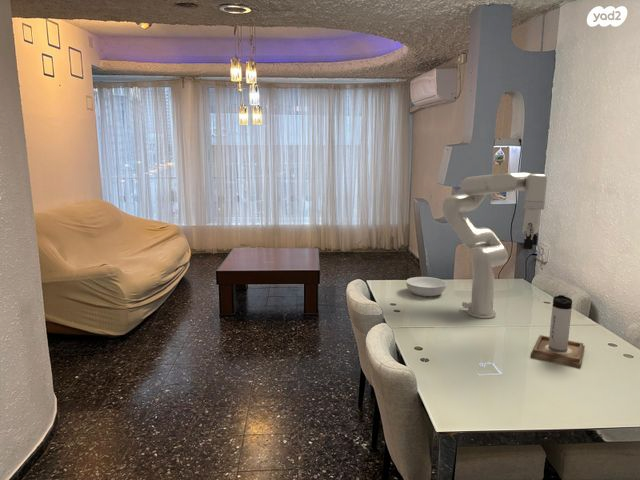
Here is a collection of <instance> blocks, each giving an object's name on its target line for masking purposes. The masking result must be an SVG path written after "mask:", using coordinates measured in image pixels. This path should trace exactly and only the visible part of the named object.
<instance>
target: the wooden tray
mask: <svg viewBox="0 0 640 480" xmlns="http://www.w3.org/2000/svg"><path fill="white" fill-rule="evenodd" d="M567 347H568V348H567V351H566V352H556V351H553V350H551V349H549V336H546V335H542V334H541V335H540V334H539V336H538V338H537V340H536V341H535V344H534V347H532V351H531V353H530V358H533V359H538V360H541V361H546V362H551V363H555V364H561V365H564V366H571V367H573V368H574V367H575V368H579V369H580V368H581V367H582V362H583V357H584V353H585V348H586V346H585V345H584V343H583V342H579V341H573V340H569V339H568V346H567Z"/></svg>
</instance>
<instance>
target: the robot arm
mask: <svg viewBox="0 0 640 480" xmlns="http://www.w3.org/2000/svg"><path fill="white" fill-rule="evenodd" d="M547 179H548V176H547V175H546V174H543V173H530V172H525V171H523V172H522V171H521V172H506V173H499V174H498V173H497V174H483V175H477V176H476V175H475V176H468V177H466V178H464V179H463V180H462V181H461V183H460V190H461V192H462V193H463V194H452V195H449V196H447V197H446V198H445V199H444V200H443V202H442V205H441V206H442V214H443V217H444V218H445V220H446V222H447V223H448V224H449V225H450V227H451V228H452V229H453V230H454V232H455V233H456V235H457V236H458V238H459V239H460V241H461V243H462V245H463V246H464V247H466V249H468V250H473V252H472V253H471V256H470V260H471V262H470V263H471V266H472V269H471V270H472V282H471V299H470V300H471V301H470V302H464V301H462V303H461V305H462V307H463V308H464V309H465V308H467V314H468V315H469V316H470V317H473V318H478V319H492V318H495V317H496V315H497V312H496V311H495V310H494V294H495V274H494V271H493V267H498V266H503V265H505V264H506V263H507V262H508V260H509V253H508V251H507V249H506V247H505V245H503V243H502V242H501V240H500V239H499V237H498V236H497V235H496V234H495V232H494V231H493V230H492V229H490V228H488V227H485V226H484V227H476V226H475V225H474V224H473V223H472V221H471V220H470V218H468V217H467V216H466V215H465V214H463V213H465V212H472V211H475V210H476V209H477V208H478V207H479V206H480V204H481V203H482V202H483V201H484V199H485V198H486V197H487V196H488V195H493V194H495V193H510V192H511V193H512V192H523V191H524V199H523V209H524V210H525V211H524V217H523V225H522V233H523V234H525V235H524V240H523V250H530V251H531V250H533V247H534V246H537V244H538V232H539V231H540V225H541V213H542V211H543V210H545V204H546V203H545V202H546V191H547V182H548V180H547Z"/></svg>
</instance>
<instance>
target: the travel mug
mask: <svg viewBox="0 0 640 480" xmlns="http://www.w3.org/2000/svg"><path fill="white" fill-rule="evenodd" d="M572 305H573V300H572V299H571V298H570V297H568V296H566V295H562V294H559V295H555V296H554V297H553V299H552V307H551V308H552V309H551V317H550V327H549V336H548V337H549V349H551V350H553V351H556V352H566V351H567V348H568V347H567V346H568V340H569V338H570V337H569V336H570V328H571V327H570V325H571V317H572V310H573V309H572V307H573V306H572Z"/></svg>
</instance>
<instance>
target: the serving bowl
mask: <svg viewBox="0 0 640 480" xmlns="http://www.w3.org/2000/svg"><path fill="white" fill-rule="evenodd" d="M405 282H406V287H407V290H408V291H410V292H411V293H412V294H414V295H417V296H420V295H421V296H420V297H426V296H429V297H436V296H439V295H441V294H442V293H443V292H445V290H446V288H447V285H448V284H447V281H445V280H443V279H440V278H438V277H432V276H431V277H430V276H415V277H409V278H407V280H405Z"/></svg>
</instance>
